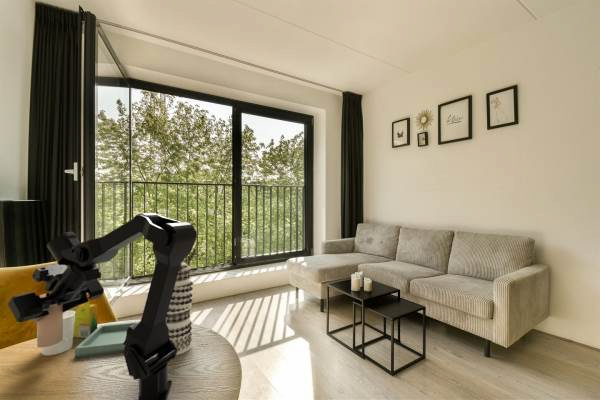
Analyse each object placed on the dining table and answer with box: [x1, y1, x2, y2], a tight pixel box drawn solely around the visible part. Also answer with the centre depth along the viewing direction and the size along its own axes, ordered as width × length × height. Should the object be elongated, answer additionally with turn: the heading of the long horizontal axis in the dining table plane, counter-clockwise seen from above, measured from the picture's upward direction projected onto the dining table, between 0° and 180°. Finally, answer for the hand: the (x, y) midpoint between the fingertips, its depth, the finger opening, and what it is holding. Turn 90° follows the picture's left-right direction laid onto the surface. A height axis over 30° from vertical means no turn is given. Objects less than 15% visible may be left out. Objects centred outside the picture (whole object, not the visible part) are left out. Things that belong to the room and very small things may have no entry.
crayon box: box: [70, 301, 98, 339], centre depth 89 cm, size 7×3×12 cm, turn 81°
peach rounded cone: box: [36, 293, 63, 348], centre depth 72 cm, size 5×5×12 cm
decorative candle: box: [165, 261, 194, 356], centre depth 81 cm, size 9×9×25 cm
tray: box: [74, 321, 139, 359], centre depth 85 cm, size 15×15×3 cm
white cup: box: [41, 310, 75, 357], centre depth 80 cm, size 8×8×10 cm
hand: (46, 316), depth 72 cm, fingers closed on peach rounded cone, 5 cm apart
